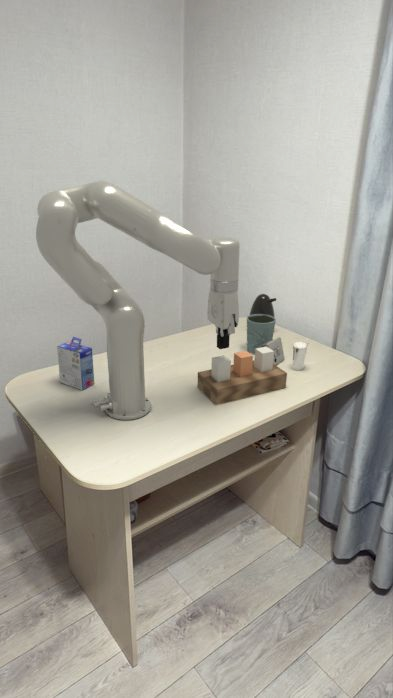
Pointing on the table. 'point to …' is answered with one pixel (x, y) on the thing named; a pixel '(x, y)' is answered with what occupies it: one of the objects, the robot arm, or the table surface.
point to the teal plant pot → (259, 330)
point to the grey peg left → (220, 368)
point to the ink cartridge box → (75, 364)
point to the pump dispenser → (263, 305)
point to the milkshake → (299, 355)
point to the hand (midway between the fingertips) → (222, 347)
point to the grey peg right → (264, 359)
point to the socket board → (241, 384)
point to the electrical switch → (275, 349)
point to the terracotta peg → (243, 363)
